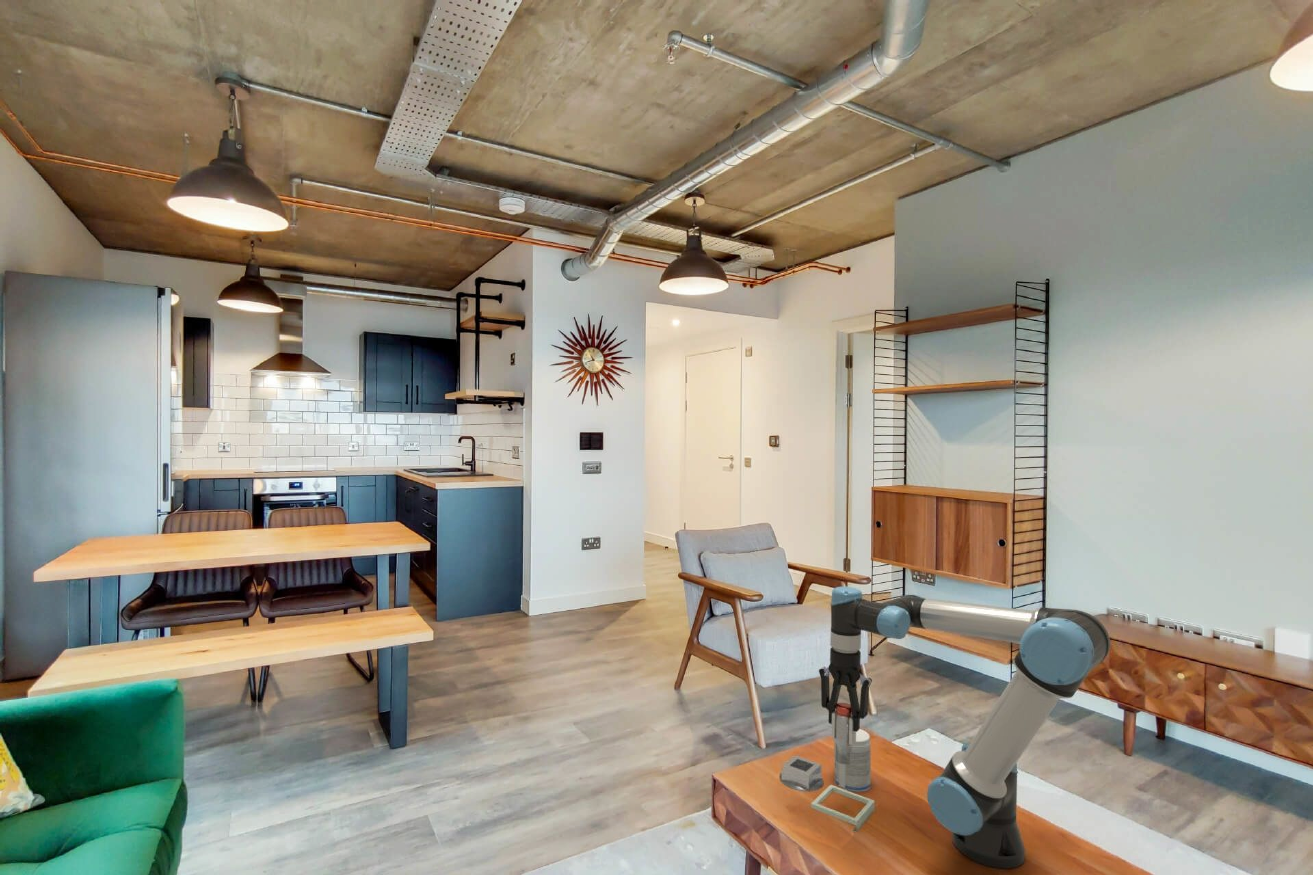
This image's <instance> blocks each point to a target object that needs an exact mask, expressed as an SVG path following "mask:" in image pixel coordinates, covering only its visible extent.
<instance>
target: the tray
mask: <svg viewBox="0 0 1313 875" xmlns="http://www.w3.org/2000/svg"><path fill="white" fill-rule="evenodd" d="M831 793H836V794H838V795H842V796H844V797H847V798H850V799H853V800H854V801H857V802H860V803H863V804H865V805H864V806H863V807H862V809H861V810H860V811H859V813H857V815H856V816H855V817H853V816H851V815H847V814H845V813H842V812H840V811H837V810H834V809H831V808H829V807H826V806H824V805H821V803H822V802H824V800H825V799H827V797H828V796H830V795H831ZM875 804H876V801H875V800H873V799H871V798H869V797H866V796H863V795H860V794H857V793H854V792H853V791H850V790H847V789H844V788H842V787H840V786H836V785H832V784H830V785H829V786H827V788H825V789H824V790H823V791H822V792H821V793H820V794H819V795H818V796H817V797H816V798H815V799H814V800H813V801H812V802H811V804H810V808H811V809H814V810H817V811H818V812H821V813H823V814H826V815H828V816H831V817H834V818H837V819H839V820H841V821H843V822H846V823H849V824H852V825H854V826H855V828H854V829H853V831H854V832H858V831H859V830H860V829H861V827H862V826H863V825H864V824H865V823H866V821H867V820H868V819H869V818H870V817H871V815H872V814H873V813H874V811H876V810H875V809H876V808H875V807H876V805H875Z"/></svg>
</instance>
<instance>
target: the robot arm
mask: <svg viewBox="0 0 1313 875" xmlns="http://www.w3.org/2000/svg"><path fill="white" fill-rule="evenodd" d="M830 600H831V601H830V638H829V639H830V640H829V641H830V642H829V645H830V649H829V650H830V651H829V661H830V662H829V665H828V666H823V667H821V668H819V669H818V673H819V677H820V685H821V686H820V688H821V689H820V690H821V691H820V693H821V694H820V695H821V696H820V697H821V699H820V700H821V703H820V704H821V707H822V709H823V708H824V709H826V710H827V711H828V724H830V725H831V736H830V737H831V739H832V740H834V739H835V738H836V704H837V703H839V696H840V692H841V688H842V686H844V687H846V691H847V692H848V693H847V694H848V696H849V697H848V698H849V704H850V705H851V711H852V717H850V718H849V744H850V745H852V744H853V743H855V742H856V732H857V731H858V730H859V729H861V727H860V725H861V722H860V721H861V720H864V718H866V717H867V716H868V715H869V714H868V713H869V700H870V699H869V696H870V686H871V684H872V683H873V679H872V678H870V677H866V676H865V675H863V672H862V670H861V660H862V659H861V655H862V654H861V651H860V650H861V648H862V646H861V645H862V641H861V640H862V631H864V632H868V633H870V634H874V635H879V636H881V637H884V638H887V639H896V640H901V639H902V640H903V639H904V638H906V636H907V635H908V634H909V631H910V628H917V629H922V630H930V631H938V632H944V633H949V634H956V635H962V636H968V637H975V638H983V639H988V640H996V641H1003V642H1008V643H1013V644H1019V650H1018V651H1017V654H1016V655H1015V656H1014V658H1013V664H1014V667H1015V669H1016V671H1015V672H1014V674H1013V676H1012V678H1011V679H1010V681H1009V682H1008V684H1007V685H1006V686H1005V689H1004V690H1003V692H1002V693H1001V695H1000V696H999V698H998V700H997V701H996V702H995V704H994V705H993V707H992V709H991V710H990V712H989V713H988V715H987V717H986V719H984V721H983V723H982V725H981V726H980V728H979V729H978V730H977V732H976V734H975V736H974V737H973V738H972V740H971V742H965V743H963V744H962V746H961V750H960V751H959V750H958V751H955V753H954V754H953V755H952V756H951V758H950V760H949V761H948V762H947V764H946V766H945V767H944V769H943V770H942V772H941V773H940V774H939V776H937V777H935V778H932V780H931V782H930V783H929V785H928V787H927V790H926V798H927V799H926V800H927V803H928V804H929V808H930V811H931V813H932V814H933V816H934V817H935V818H936V820H937V821H938V822H939V823H940V824H941V825H942V826H943V827H944V828H946V829H947V830H949V831H950V832H951V836H952V837H951V840H952V843H953V846H954V847H955V848H956V849H957V850H958V851H959V852H960V853H961V854H962V855H964V856H966V857H967V858H968V859H970V860H972V861H974V862H976V863H979V864H981V865H985V866H988V867H991V868H996V869H998V868H999V869H1014V868H1018V867H1020V866H1021V865H1023V864H1024V862H1025V858H1026V857H1025V852H1026V851H1025V850H1026V849H1025V843H1024V840H1023V838H1022V835H1021V831H1020V829H1019V826H1018V822H1017V809H1018V808H1017V807H1018V806H1017V805H1018V804H1017V802H1018V799H1017V798H1018V797H1017V796H1018V774H1019V771H1018V763H1017V762H1018V761H1019V760H1020V758H1021V757H1022V756H1023V754H1024V752H1025V751H1026V749H1027V748H1028V746H1029V745H1030V743H1031V742H1032V741H1033V739H1034V737H1035V736H1036V734H1037V733H1038V731H1039V730H1040V728H1042V726H1043V724H1044V723H1045V721H1046V719H1047V718H1048V717H1049V715H1050V714H1051V712H1052V711H1053V709H1054V708H1055V706H1056V705H1057V704H1058V702H1059V700H1060V699H1072V697H1074V695H1075V694H1076V692H1077V691H1078V689H1079V688H1080V686H1081V685H1082V684H1083V682H1084V681H1085V679H1086V678H1087V677H1088V675H1089V674H1090V672H1091V671H1092V670H1093V669H1094V668H1096V667H1097V666H1098V665H1100V664H1101V663H1102V662H1104V661H1105V659H1106V658H1107V656H1109V653H1110V650H1111V640H1110V635H1109V632H1108V630H1107V629H1106V627H1105V626H1104V624H1103V623H1102V622H1101V621H1100V620H1099V619H1098V618H1097V617H1095V616H1094V615H1092V614H1090V613H1088V612H1085V611H1082V610H1078V609H1073V608H1072V609H1068V608H1052V607H1043V606H1040V607H1039V608H1037V609H1036V610H1028V609H1019V608H1013V607H1011V608H1010V607H1004V606H1003V607H1002V606H994V605H984V604H977V603H976V604H975V603H969V602H960V601H959V602H958V601H950V600H941V599H933V598H932V599H931V598H925V597H923V596H922V595H919V594H913V593H912V594H905V595H902V596H899V597H897V598H894V599H890V600H888V601H883V602H876V601H870V600H867V599H864V598H863V592H862V591H861V590H860V588H856V587H852V586H837V587H835V588H833V589H832V591H831V599H830ZM830 675H831V677H832V679H833V683H832V690H831V692H830ZM859 681H860V685H861V688H860V699H859V697H858V691H857V690H858V686H857V683H858V682H859ZM830 693H831V694H830ZM859 700H860V702H859Z"/></svg>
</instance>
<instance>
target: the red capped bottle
mask: <svg viewBox="0 0 1313 875" xmlns="http://www.w3.org/2000/svg"><path fill="white" fill-rule="evenodd" d="M835 710H836V739H835V759H834V761H835V760H836V761H837V762H838V763H841V764H850V763H851V753H852V745H850V744H849V718H850V717H852V711H851V705H850V703H848V702H837V704H836V709H835Z"/></svg>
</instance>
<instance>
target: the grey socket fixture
mask: <svg viewBox="0 0 1313 875" xmlns="http://www.w3.org/2000/svg"><path fill="white" fill-rule="evenodd" d="M778 778H779V781H780V782H781V783H782V785H784V786H785V787H787V788H789V789H792V790H795V791H798V792H805V793H806V792H807V793H808V792H816V791H818V790H820V789H821V788H823V787H824V784H825V780H824V779H823V778H822V763H818V762H816V761H813V760H810V759H807V758H804V757H802V756H799V755H793V756H792V757H791V758H790V759H788V760H786V762H785V763H784V764H782V765H781V772H780V774H779V777H778Z"/></svg>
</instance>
